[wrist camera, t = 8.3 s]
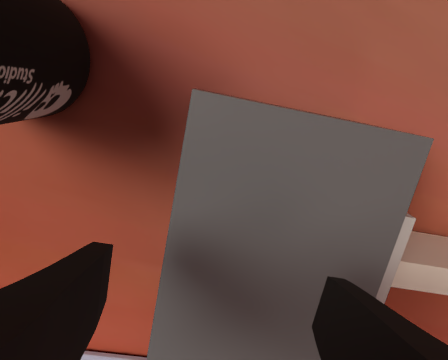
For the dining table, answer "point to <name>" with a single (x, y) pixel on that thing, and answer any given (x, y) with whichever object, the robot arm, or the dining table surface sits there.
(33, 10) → the beverage can
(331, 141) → the panel
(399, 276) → the pale narrow strip
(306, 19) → the dining table surface
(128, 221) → the dining table surface
